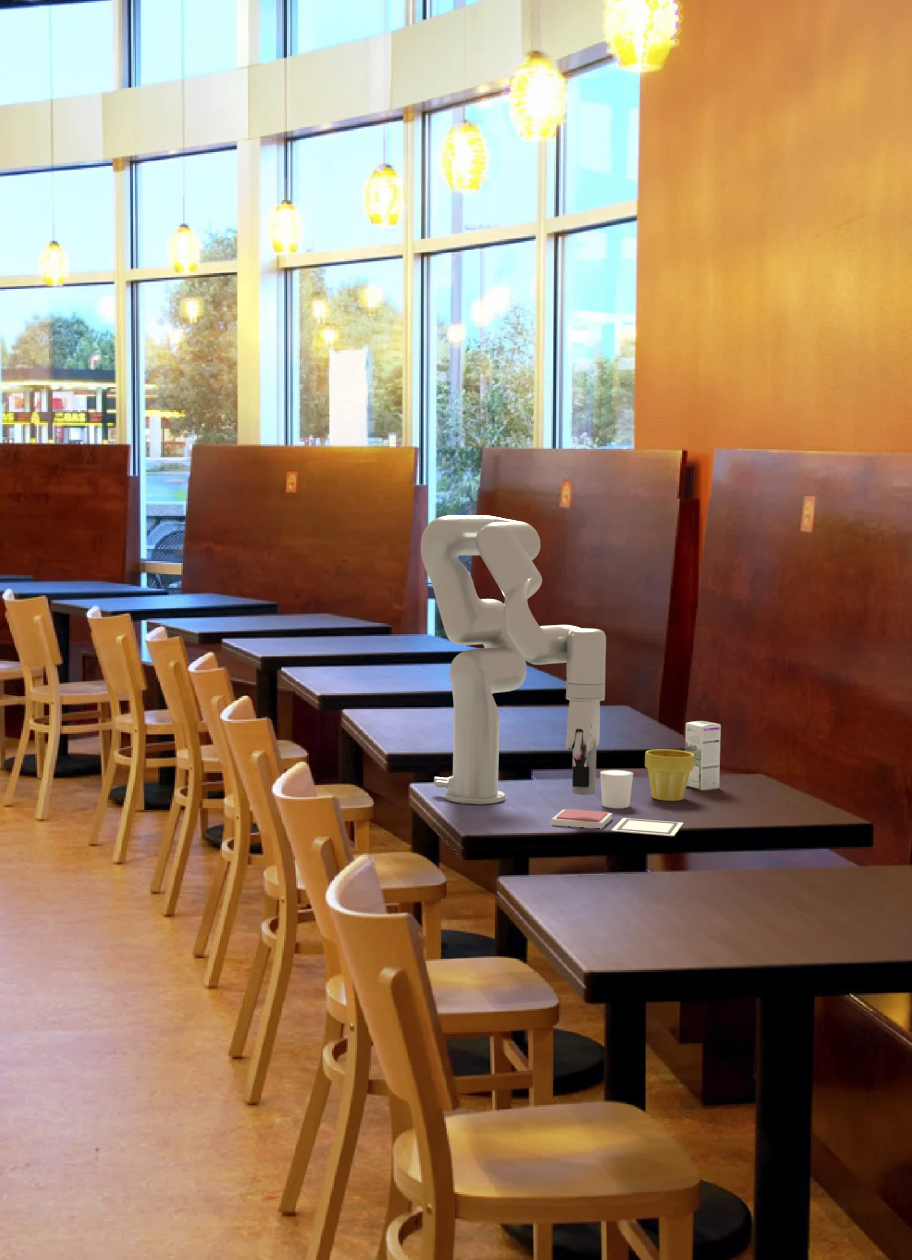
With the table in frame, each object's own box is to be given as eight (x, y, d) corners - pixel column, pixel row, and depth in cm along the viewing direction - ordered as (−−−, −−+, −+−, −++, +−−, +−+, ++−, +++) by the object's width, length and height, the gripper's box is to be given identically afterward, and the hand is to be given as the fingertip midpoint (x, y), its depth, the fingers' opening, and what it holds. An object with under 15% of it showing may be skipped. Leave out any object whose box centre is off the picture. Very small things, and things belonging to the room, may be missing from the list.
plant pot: (702, 798, 327) (703, 753, 326) (675, 805, 319) (676, 758, 319) (661, 791, 334) (662, 747, 333) (634, 797, 326) (635, 752, 325)
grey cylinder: (578, 795, 297) (579, 743, 296) (568, 791, 301) (569, 739, 300) (599, 794, 299) (600, 742, 298) (588, 790, 303) (589, 738, 302)
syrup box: (720, 788, 339) (722, 723, 337) (699, 791, 336) (702, 725, 334) (703, 784, 343) (705, 720, 342) (682, 786, 340) (684, 721, 339)
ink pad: (551, 825, 297) (551, 817, 297) (563, 815, 307) (563, 807, 307) (602, 829, 294) (602, 821, 294) (612, 819, 304) (612, 811, 304)
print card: (611, 831, 293) (611, 829, 293) (623, 819, 304) (623, 817, 304) (673, 836, 289) (673, 834, 289) (683, 823, 301) (683, 822, 301)
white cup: (633, 809, 314) (634, 775, 314) (600, 808, 314) (601, 774, 314) (630, 802, 321) (631, 769, 321) (598, 801, 321) (598, 768, 321)
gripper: (576, 686, 308) (574, 776, 309) (556, 696, 291) (555, 790, 293) (612, 688, 305) (611, 778, 307) (595, 697, 289) (593, 793, 291)
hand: (583, 783), depth 300 cm, fingers closed on grey cylinder, 4 cm apart
